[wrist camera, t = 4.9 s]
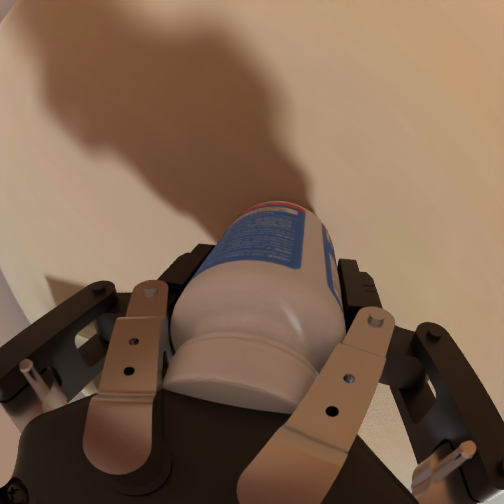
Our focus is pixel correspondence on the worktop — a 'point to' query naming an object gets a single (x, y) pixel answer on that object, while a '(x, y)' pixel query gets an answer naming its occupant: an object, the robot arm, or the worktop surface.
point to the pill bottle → (259, 312)
